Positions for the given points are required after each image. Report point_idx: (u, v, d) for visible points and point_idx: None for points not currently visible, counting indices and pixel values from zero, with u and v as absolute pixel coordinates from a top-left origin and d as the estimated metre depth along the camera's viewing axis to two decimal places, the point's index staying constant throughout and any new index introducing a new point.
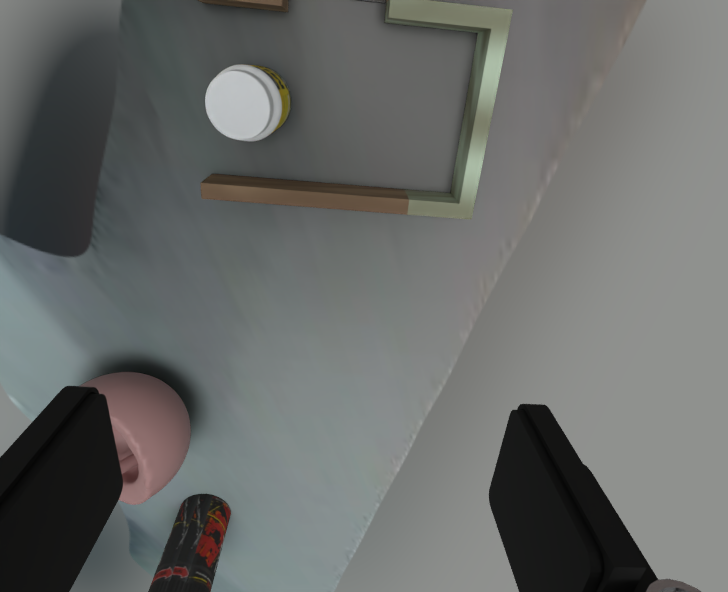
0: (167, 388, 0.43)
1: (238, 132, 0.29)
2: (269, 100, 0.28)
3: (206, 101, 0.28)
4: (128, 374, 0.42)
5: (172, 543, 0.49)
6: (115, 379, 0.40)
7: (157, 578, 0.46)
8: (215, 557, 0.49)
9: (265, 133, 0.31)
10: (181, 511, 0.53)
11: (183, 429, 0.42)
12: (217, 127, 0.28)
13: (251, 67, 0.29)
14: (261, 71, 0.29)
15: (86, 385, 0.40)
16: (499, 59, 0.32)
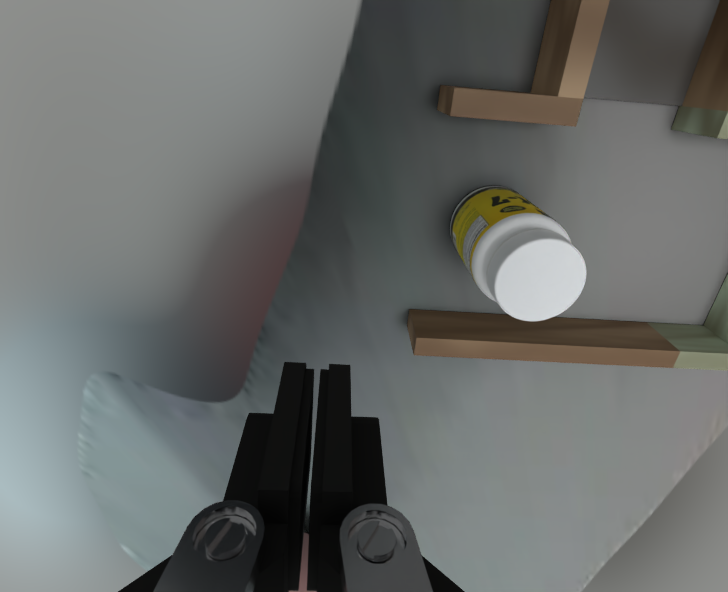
0: None
1: (532, 313, 0.20)
2: None
3: (498, 277, 0.20)
4: None
5: None
6: None
7: None
8: None
9: None
10: None
11: None
12: (504, 307, 0.20)
13: (544, 218, 0.21)
14: (555, 222, 0.21)
15: None
16: None
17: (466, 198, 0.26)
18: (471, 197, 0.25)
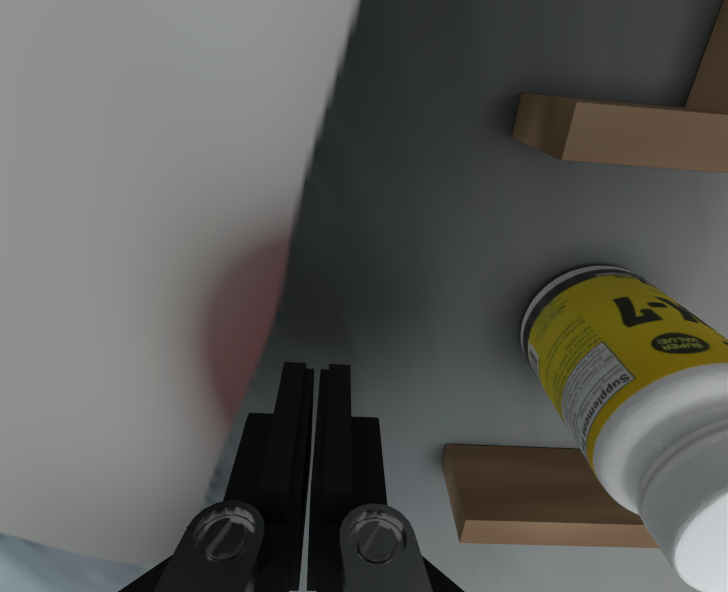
0: None
1: None
2: None
3: (689, 531, 0.09)
4: None
5: None
6: None
7: None
8: None
9: None
10: None
11: None
12: (689, 579, 0.09)
13: None
14: None
15: None
16: None
17: (554, 287, 0.15)
18: (565, 288, 0.15)
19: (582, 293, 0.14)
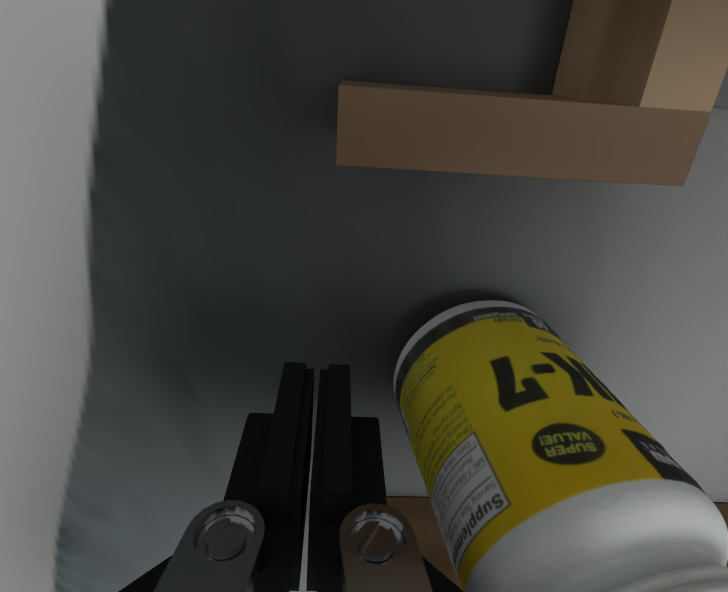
0: None
1: None
2: None
3: None
4: None
5: None
6: None
7: None
8: None
9: None
10: None
11: None
12: None
13: (676, 500, 0.07)
14: (698, 497, 0.07)
15: None
16: None
17: (425, 335, 0.12)
18: (437, 338, 0.11)
19: (455, 348, 0.11)
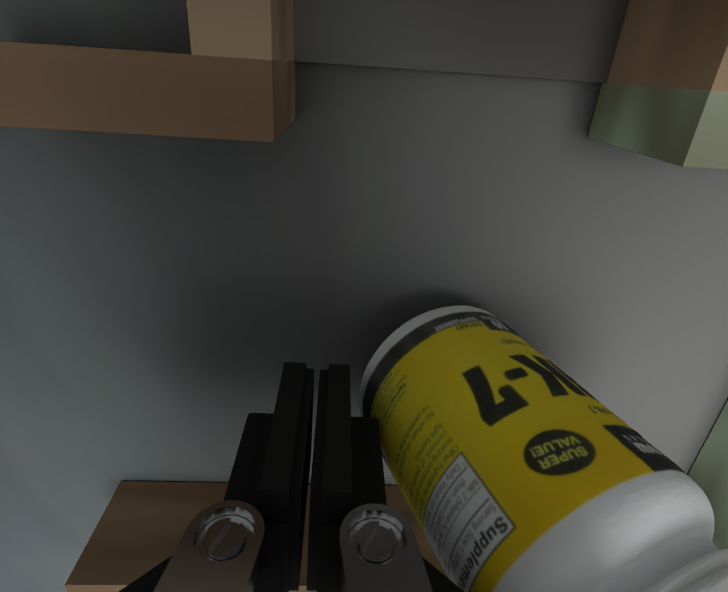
0: None
1: None
2: None
3: None
4: None
5: None
6: None
7: None
8: None
9: None
10: None
11: None
12: None
13: (670, 492, 0.07)
14: (685, 482, 0.07)
15: None
16: None
17: (388, 353, 0.11)
18: (402, 354, 0.11)
19: (423, 363, 0.10)
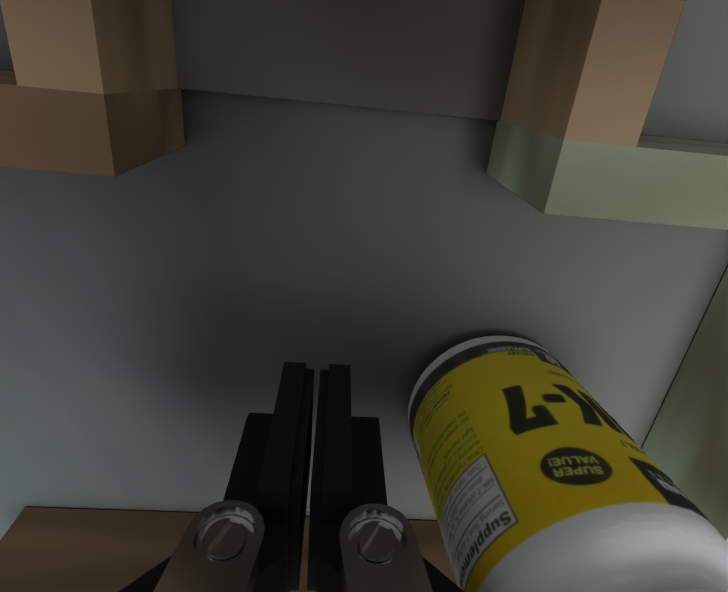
0: None
1: None
2: None
3: None
4: None
5: None
6: None
7: None
8: None
9: None
10: None
11: None
12: None
13: (681, 525, 0.07)
14: (705, 526, 0.07)
15: None
16: None
17: (441, 365, 0.12)
18: (452, 368, 0.12)
19: (469, 376, 0.11)
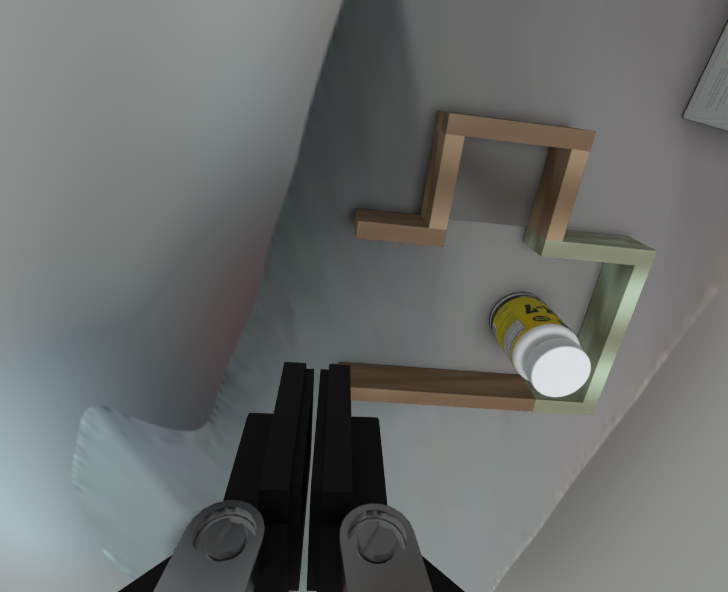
0: None
1: (554, 391, 0.31)
2: None
3: (534, 368, 0.30)
4: None
5: None
6: None
7: None
8: None
9: None
10: None
11: None
12: (536, 387, 0.30)
13: (563, 328, 0.31)
14: (570, 331, 0.32)
15: None
16: (638, 289, 0.33)
17: (504, 300, 0.36)
18: (508, 301, 0.36)
19: (514, 303, 0.35)
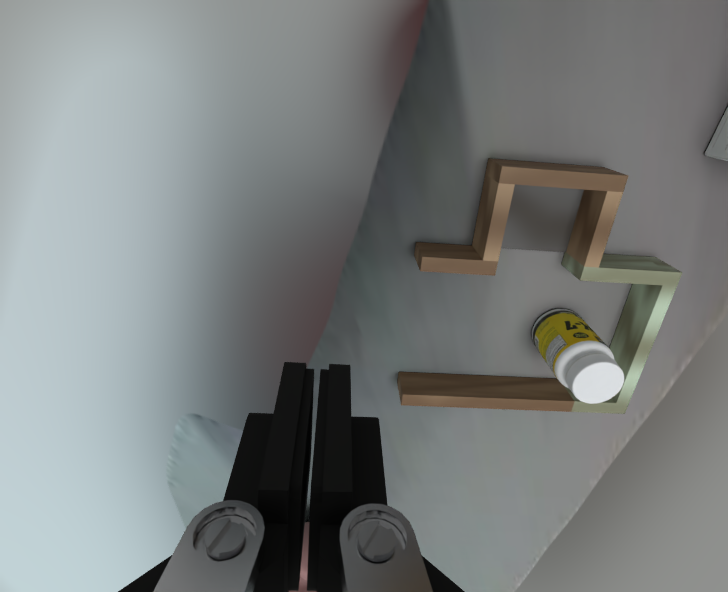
0: None
1: (591, 399, 0.36)
2: None
3: (575, 379, 0.35)
4: None
5: None
6: (306, 540, 0.47)
7: None
8: None
9: None
10: None
11: None
12: (576, 395, 0.36)
13: (600, 345, 0.36)
14: (606, 347, 0.37)
15: None
16: (666, 305, 0.38)
17: (545, 316, 0.41)
18: (549, 316, 0.41)
19: (554, 318, 0.40)
